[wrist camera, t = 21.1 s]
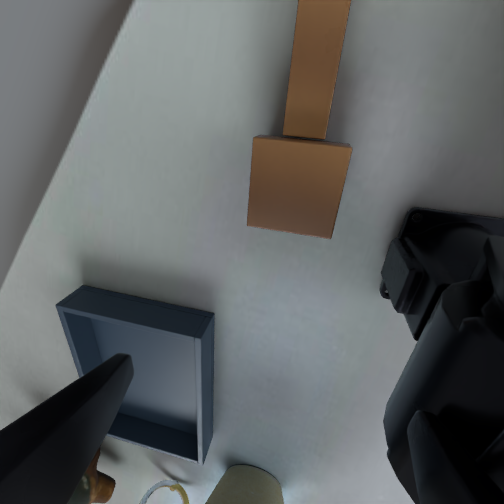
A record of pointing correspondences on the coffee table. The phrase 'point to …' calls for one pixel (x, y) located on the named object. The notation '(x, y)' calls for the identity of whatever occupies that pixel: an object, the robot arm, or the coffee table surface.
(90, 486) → the decorative turtle
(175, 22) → the coffee table surface
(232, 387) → the coffee table surface
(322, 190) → the brush
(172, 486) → the ring
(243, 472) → the plant pot
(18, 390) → the coffee table surface
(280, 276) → the coffee table surface
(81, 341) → the tray
